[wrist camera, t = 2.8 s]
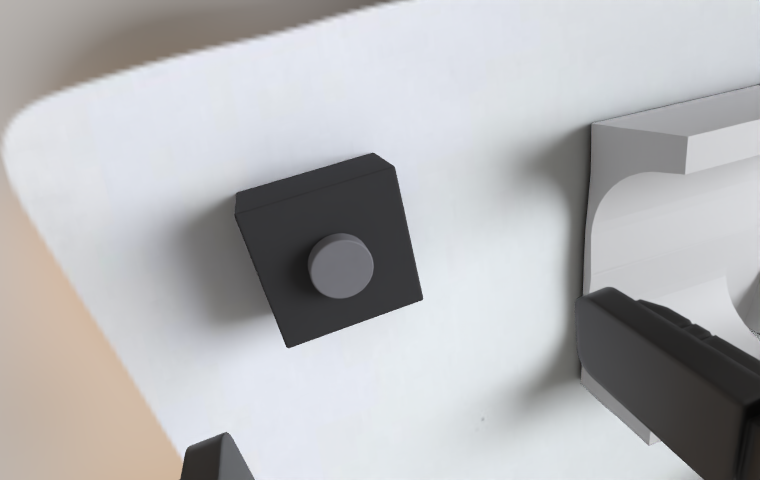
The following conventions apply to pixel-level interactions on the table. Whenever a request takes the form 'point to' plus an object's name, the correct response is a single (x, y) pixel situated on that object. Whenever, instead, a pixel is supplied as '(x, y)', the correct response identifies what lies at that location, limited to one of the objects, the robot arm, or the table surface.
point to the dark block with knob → (330, 246)
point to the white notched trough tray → (679, 218)
